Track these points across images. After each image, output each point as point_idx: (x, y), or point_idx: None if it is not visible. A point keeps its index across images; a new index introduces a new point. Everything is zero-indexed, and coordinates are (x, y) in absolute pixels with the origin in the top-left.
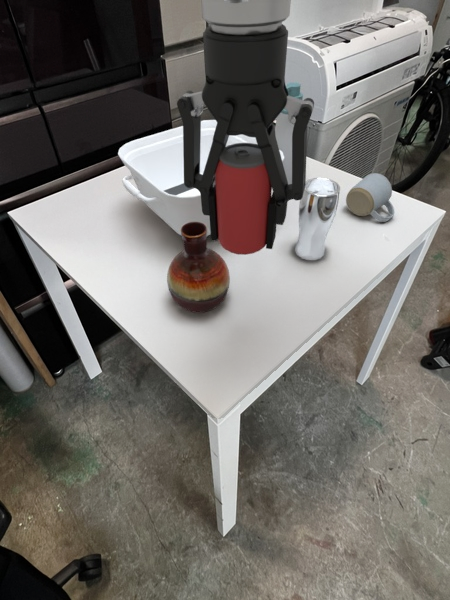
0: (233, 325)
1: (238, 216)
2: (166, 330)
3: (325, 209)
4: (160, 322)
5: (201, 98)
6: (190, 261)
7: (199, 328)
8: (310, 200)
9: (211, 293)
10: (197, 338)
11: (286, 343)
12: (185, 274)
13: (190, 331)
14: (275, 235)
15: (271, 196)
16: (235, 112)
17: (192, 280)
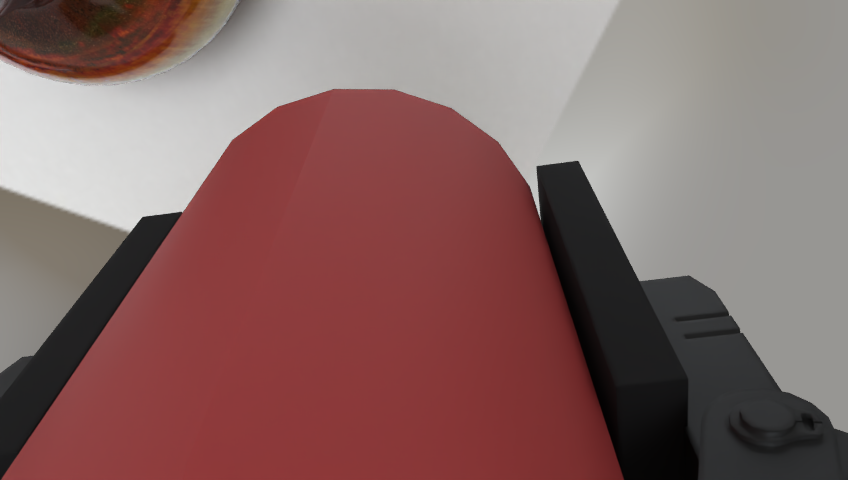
0: (349, 11)
1: None
2: (122, 137)
3: None
4: (75, 111)
5: None
6: (22, 7)
7: (231, 79)
8: None
9: (215, 29)
10: (250, 126)
11: (579, 17)
12: (51, 57)
13: (207, 106)
14: (580, 168)
15: (621, 469)
16: None
17: (104, 64)
